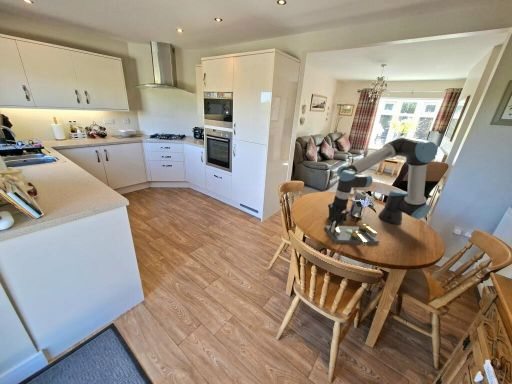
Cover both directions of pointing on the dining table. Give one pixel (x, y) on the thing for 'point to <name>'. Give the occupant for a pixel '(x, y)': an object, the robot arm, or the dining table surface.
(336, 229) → the knob
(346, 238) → the level plate
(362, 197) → the milk carton
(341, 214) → the camera
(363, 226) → the knob
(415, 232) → the dining table surface
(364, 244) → the knob left
